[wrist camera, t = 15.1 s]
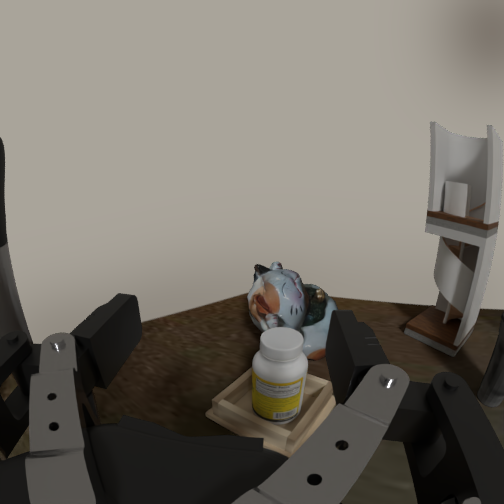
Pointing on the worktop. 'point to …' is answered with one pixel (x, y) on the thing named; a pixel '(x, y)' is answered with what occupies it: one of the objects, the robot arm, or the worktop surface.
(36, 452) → the robot arm
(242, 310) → the worktop surface
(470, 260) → the white shelf stand
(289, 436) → the birch dock
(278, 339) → the supplement bottle
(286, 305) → the lucky cat figurine
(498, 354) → the beverage cup
